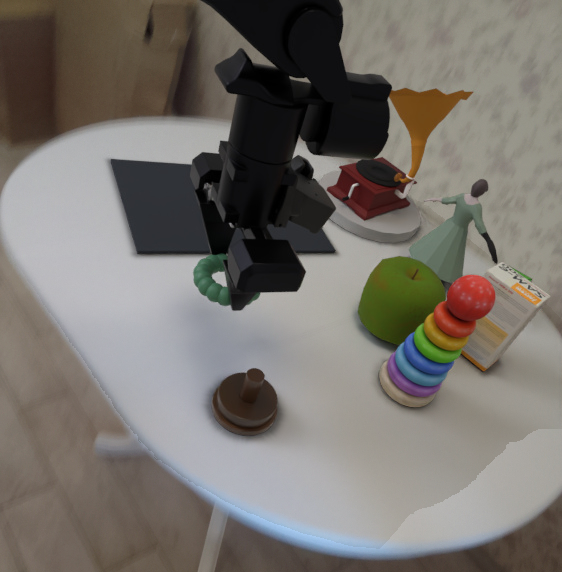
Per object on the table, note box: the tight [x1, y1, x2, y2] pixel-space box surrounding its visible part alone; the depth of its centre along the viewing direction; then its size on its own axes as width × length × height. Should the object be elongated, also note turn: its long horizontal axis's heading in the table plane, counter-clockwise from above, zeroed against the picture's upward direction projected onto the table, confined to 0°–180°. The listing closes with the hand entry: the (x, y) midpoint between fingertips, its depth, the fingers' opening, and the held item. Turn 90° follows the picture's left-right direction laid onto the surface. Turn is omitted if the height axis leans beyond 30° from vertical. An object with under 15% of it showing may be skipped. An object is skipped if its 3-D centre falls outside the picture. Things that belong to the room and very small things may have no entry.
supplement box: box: [460, 261, 552, 372], centre depth 73 cm, size 8×5×13 cm, turn 43°
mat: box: [110, 158, 336, 255], centre depth 85 cm, size 32×24×1 cm
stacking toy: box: [378, 274, 496, 408], centre depth 62 cm, size 8×8×19 cm
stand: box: [210, 367, 279, 436], centre depth 57 cm, size 8×8×6 cm
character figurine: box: [408, 178, 499, 283], centre depth 81 cm, size 16×8×18 cm, turn 42°
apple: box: [357, 255, 447, 346], centre depth 72 cm, size 11×11×11 cm
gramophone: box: [318, 87, 474, 244], centre depth 88 cm, size 20×20×25 cm
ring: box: [192, 253, 261, 307], centre depth 55 cm, size 8×8×2 cm
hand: (226, 285), depth 55 cm, fingers closed on ring, 7 cm apart
